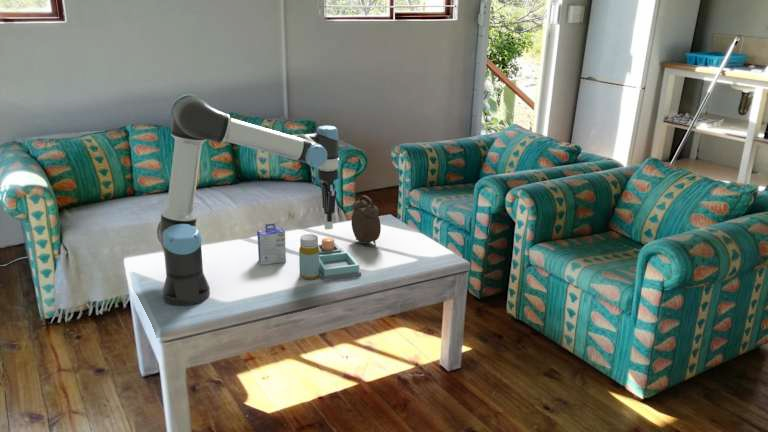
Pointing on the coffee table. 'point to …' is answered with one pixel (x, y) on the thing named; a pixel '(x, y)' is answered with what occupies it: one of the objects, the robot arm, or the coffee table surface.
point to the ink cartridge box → (271, 245)
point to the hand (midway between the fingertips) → (328, 228)
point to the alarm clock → (365, 221)
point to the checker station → (337, 264)
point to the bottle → (309, 257)
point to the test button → (327, 244)
